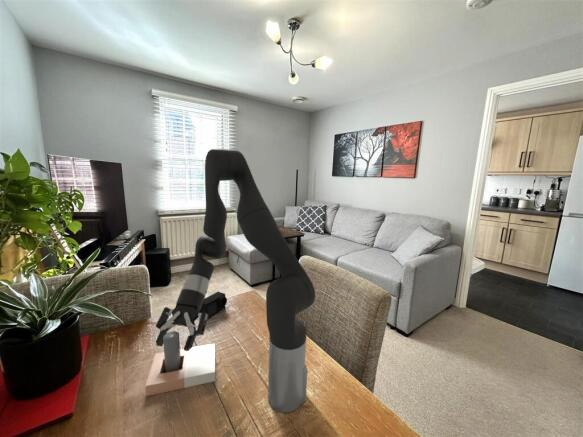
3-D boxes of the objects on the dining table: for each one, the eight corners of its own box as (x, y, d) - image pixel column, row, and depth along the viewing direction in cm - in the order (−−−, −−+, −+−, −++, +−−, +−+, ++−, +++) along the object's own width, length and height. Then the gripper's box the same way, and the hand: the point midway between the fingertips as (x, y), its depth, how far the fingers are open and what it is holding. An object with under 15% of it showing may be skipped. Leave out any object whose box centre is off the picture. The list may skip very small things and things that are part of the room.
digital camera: (208, 321, 95) (208, 305, 94) (199, 317, 98) (198, 301, 96) (227, 309, 104) (227, 294, 103) (218, 305, 107) (218, 291, 105)
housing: (214, 351, 79) (214, 343, 78) (215, 381, 68) (215, 371, 67) (155, 362, 74) (155, 353, 73) (146, 396, 62) (145, 386, 62)
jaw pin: (181, 366, 72) (180, 330, 70) (180, 377, 69) (178, 339, 67) (166, 369, 71) (164, 332, 69) (164, 380, 67) (162, 341, 65)
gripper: (167, 285, 76) (142, 342, 67) (210, 290, 74) (189, 350, 65) (179, 293, 82) (157, 346, 73) (218, 298, 80) (200, 354, 71)
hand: (172, 348), depth 69 cm, fingers open, 8 cm apart
